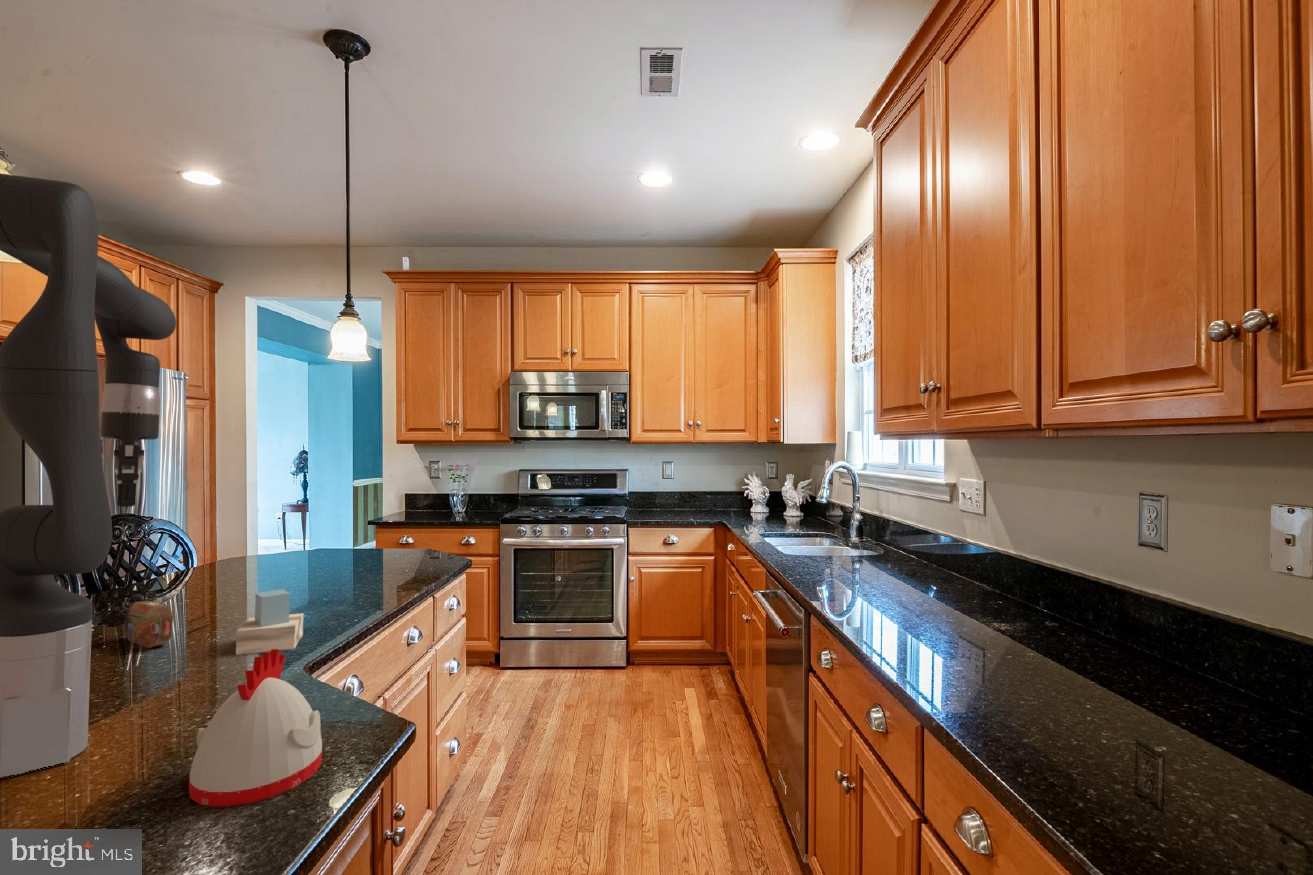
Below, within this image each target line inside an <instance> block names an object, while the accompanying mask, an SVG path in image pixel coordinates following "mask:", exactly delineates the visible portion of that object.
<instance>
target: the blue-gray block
mask: <svg viewBox="0 0 1313 875" xmlns="http://www.w3.org/2000/svg"><path fill="white" fill-rule="evenodd" d="M290 597H291V594H290V592H288V591H287V590H285V589H284V588H281V589H275V590H269V591H262V592H255V598H254V599H255V602H254V605H255V606H254V607H255V609H254V610H255V611H254V617H255V622H256V623H257V624H258V625H259V626H260V627H264V626H269V625H275V624H281V623H286V622H289V614H290V605H291V604H290V603H291V601H290Z"/></svg>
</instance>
